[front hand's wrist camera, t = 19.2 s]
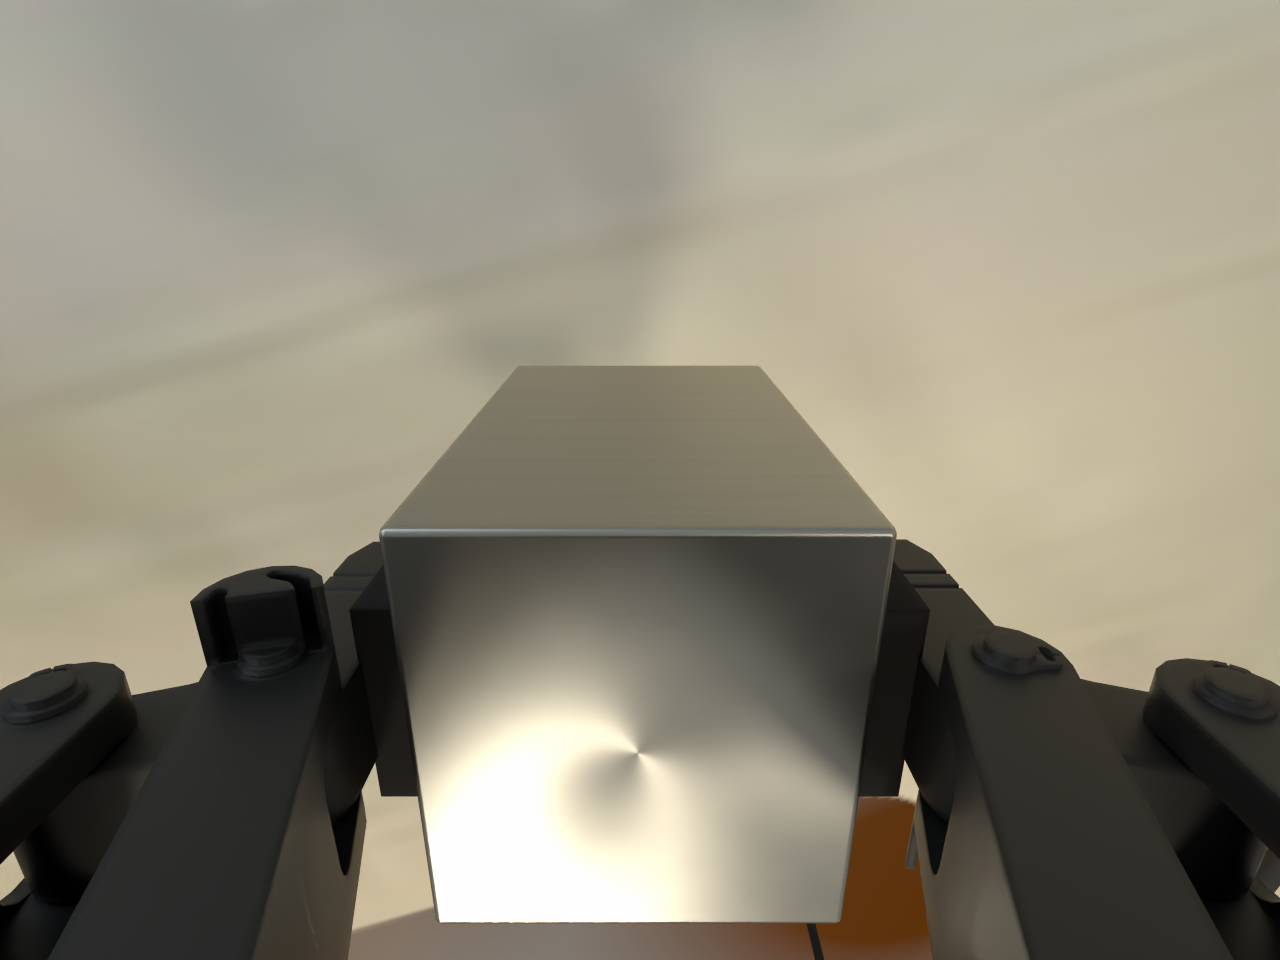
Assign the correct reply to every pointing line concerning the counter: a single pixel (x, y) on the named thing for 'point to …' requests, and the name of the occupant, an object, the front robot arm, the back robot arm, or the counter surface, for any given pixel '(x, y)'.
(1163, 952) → the front robot arm
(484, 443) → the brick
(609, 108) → the counter surface
